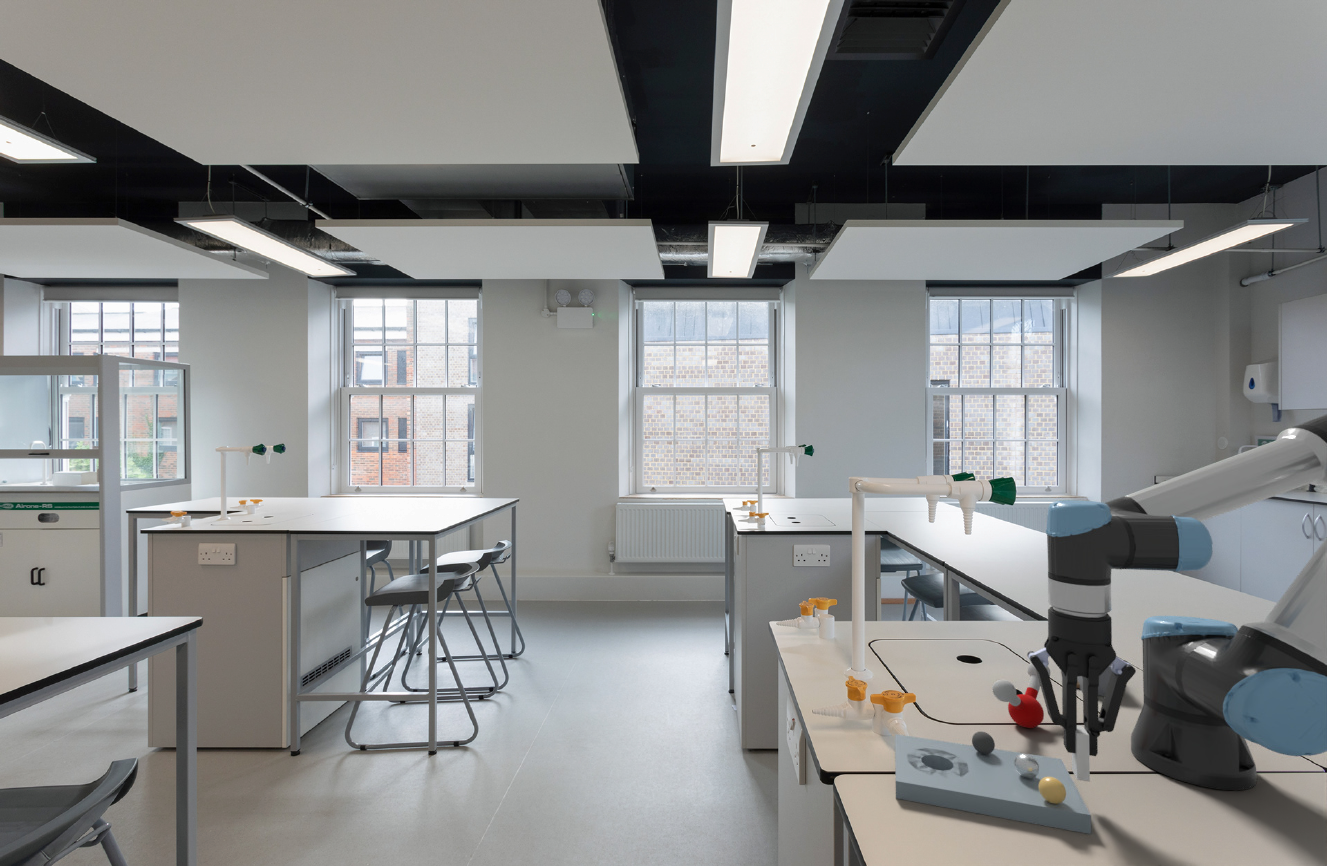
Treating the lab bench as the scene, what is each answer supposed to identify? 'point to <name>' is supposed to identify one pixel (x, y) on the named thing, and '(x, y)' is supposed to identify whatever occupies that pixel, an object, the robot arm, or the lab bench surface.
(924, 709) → the lab bench surface
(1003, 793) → the plate
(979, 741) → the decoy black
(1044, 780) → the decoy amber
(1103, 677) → the open storage box
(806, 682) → the lab bench surface
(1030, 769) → the steel ball
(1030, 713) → the molecular model
